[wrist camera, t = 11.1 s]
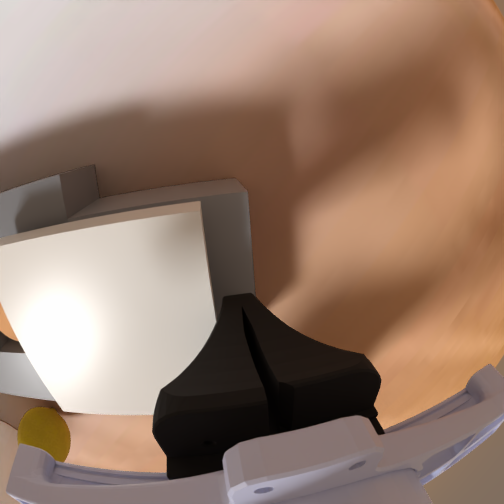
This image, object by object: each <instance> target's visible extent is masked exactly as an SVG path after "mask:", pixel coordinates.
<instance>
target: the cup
mask: <svg viewBox="0 0 504 504" xmlns="http://www.w3.org/2000/svg"><path fill="white" fill-rule="evenodd" d="M17 433H18V430H16V429H15V428H13V427H12V426H10V425H9V424H7V423H5V422H3V421H0V504H21V503H20V502H18V501H17V500H15V499H14V498H13V497H11V496H10V495H8V494H7V493H6V487H7V483H8V480H9V476H10V472H11V469H12V465H13V462H14V459H15V456H16V452H17V449H18V441H17Z"/></svg>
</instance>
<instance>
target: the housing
mask: <svg viewBox="0 0 504 504" xmlns="http://www.w3.org/2000/svg"><path fill="white" fill-rule="evenodd" d="M195 201H201V209H202V218H203V226H204V233H205V241H206V248H207V255H208V263H209V269H210V276H211V283H212V290H213V296H214V302H215V309H216V315H217V319H218V316H219V313H220V310H221V306H222V298H223V297H224V296H229V295H236V294H244V293H252V294H254V296H255V297H256V294H255V281H254V268H253V254H252V241H251V228H250V214H249V201H248V191H247V190H246V189H245V188H244V187H243V186H242V184H241V183H240V182H239V181H238V180H237V179H236V178H230V179H221V180H212V181H204V182H196V183H188V184H181V185H174V186H167V187H160V188H154V189H147V190H141V191H135V192H130V193H124V194H119V195H113V196H108V197H103V198H100V197H99V192H98V185H97V179H96V172H95V165H91V166H86V167H82V168H78V169H74V170H71V171H67V172H63V173H60V174H56V175H52V176H49V177H46V178H42V179H39V180H36V181H33V182H29V183H26V184H23V185H20V186H17V187H14V188H12V189H9V190H6V191H3V192H0V238H2V237H6V236H10V235H14V234H18V233H22V232H27V231H31V230H35V229H40V228H44V227H49V226H53V225H58V224H63V223H68V222H73V221H78V220H83V219H88V218H93V217H99V216H104V215H110V214H116V213H121V212H127V211H133V210H140V209H146V208H152V207H159V206H166V205H173V204H180V203H187V202H195ZM0 393H5V394H10V395H16V396H22V397H28V398H35V399H43V400H51V401H56V400H55V399H54V398H53V396H52V395H51V393H50V392H49V390H48V389H47V387H46V386H45V384H44V383H43V381H42V380H41V378H40V377H39V375H38V373H37V372H36V370H35V369H34V367H33V365H32V364H31V362H30V360H29V359H28V357H27V355H26V353H25V352H24V350H23V348H22V346H21V344H20V342H19V341H16V340H13V339H11V338H9V337H7V336H6V335H5V334H3V333H2V332H1V331H0Z"/></svg>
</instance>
